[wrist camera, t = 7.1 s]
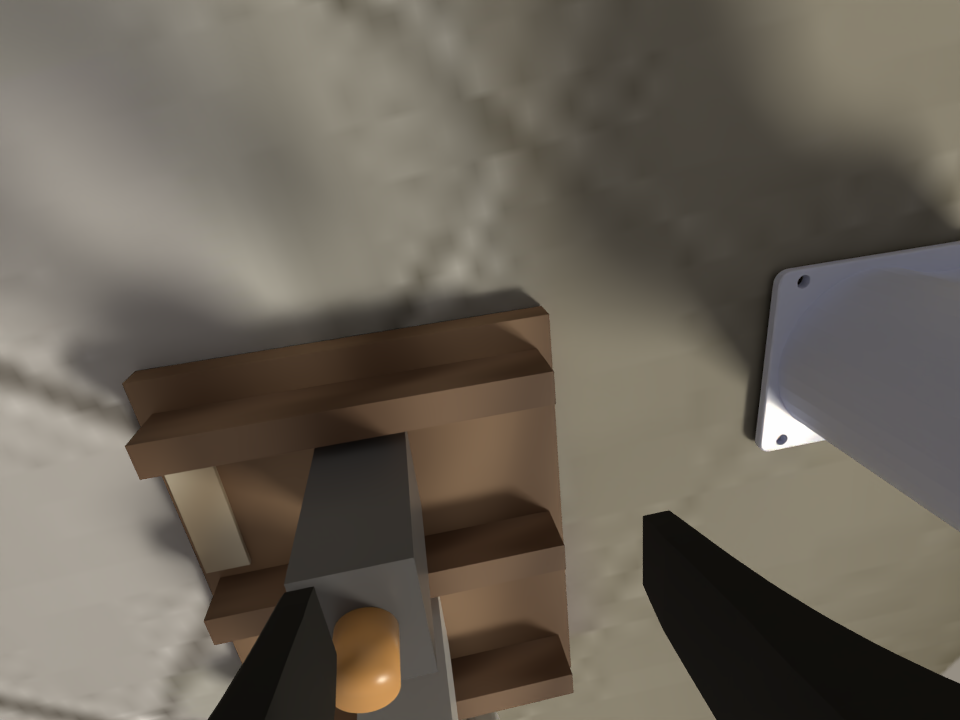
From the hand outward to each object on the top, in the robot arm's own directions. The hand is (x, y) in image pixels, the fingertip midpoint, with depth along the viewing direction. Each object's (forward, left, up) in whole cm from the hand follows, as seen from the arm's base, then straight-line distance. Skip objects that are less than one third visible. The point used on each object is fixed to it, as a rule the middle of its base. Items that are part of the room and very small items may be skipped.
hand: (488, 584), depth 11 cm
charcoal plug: (+3, +2, -8) cm, 9 cm away
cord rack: (+3, +6, -9) cm, 12 cm away
